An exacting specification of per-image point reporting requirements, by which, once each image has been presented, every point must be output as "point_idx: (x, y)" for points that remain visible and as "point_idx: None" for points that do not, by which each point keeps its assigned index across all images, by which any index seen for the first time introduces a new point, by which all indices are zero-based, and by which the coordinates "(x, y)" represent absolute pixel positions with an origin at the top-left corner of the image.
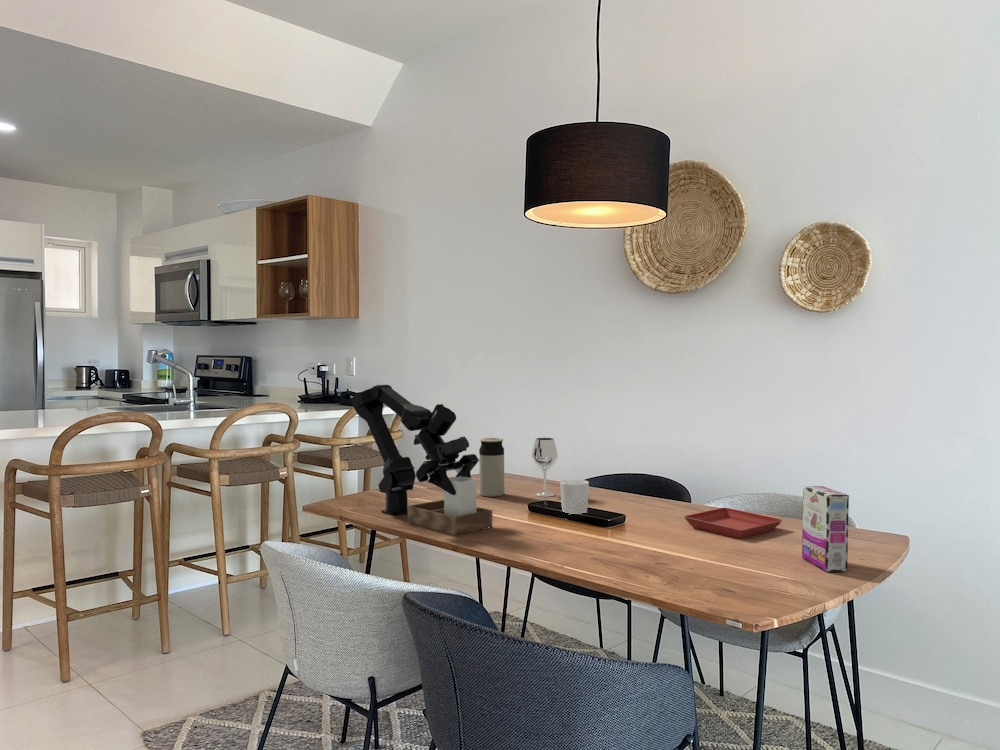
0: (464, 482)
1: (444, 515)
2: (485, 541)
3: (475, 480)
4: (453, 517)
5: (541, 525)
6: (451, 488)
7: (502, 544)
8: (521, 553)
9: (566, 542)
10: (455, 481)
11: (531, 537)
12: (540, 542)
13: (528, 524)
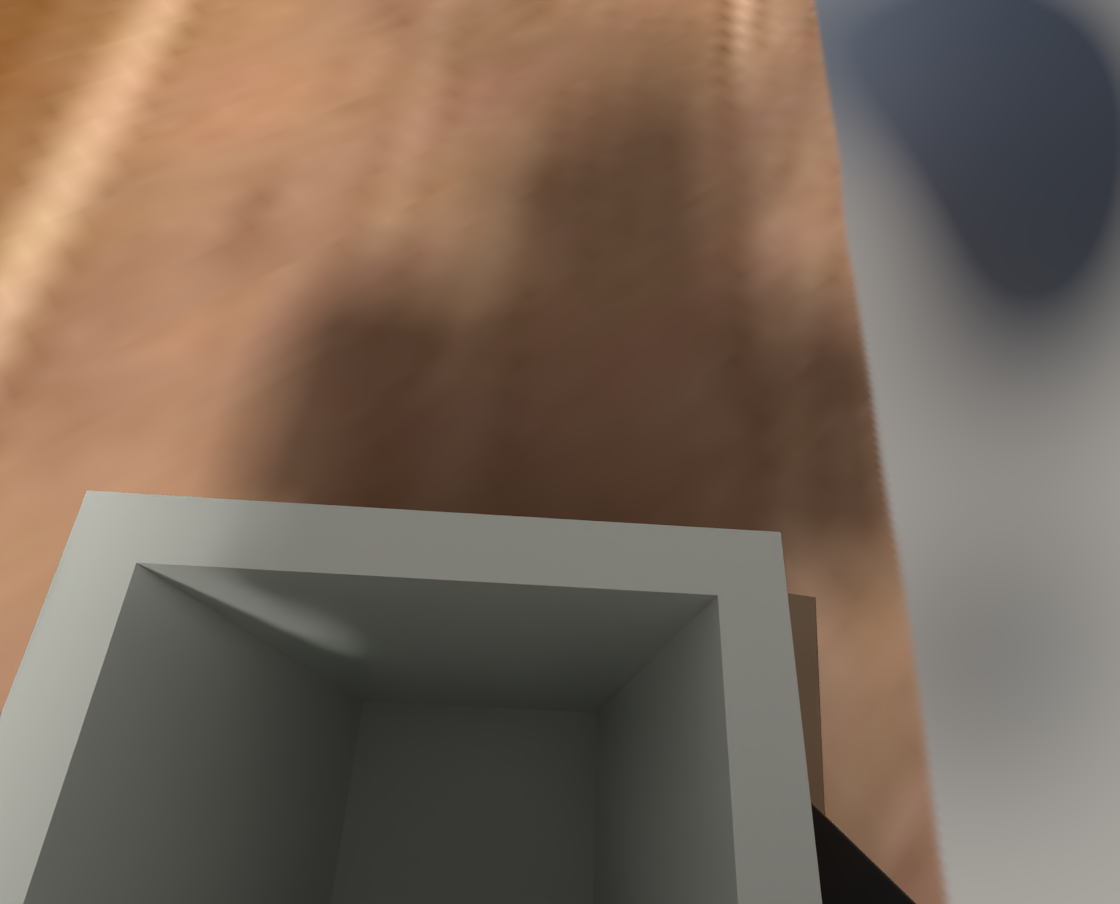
0: (591, 533)
1: (820, 803)
2: (687, 341)
3: (142, 509)
4: (800, 622)
5: (17, 299)
6: (822, 821)
7: (662, 227)
8: (726, 80)
9: (387, 24)
10: (799, 733)
11: (400, 188)
12: (474, 106)
13: (22, 391)
